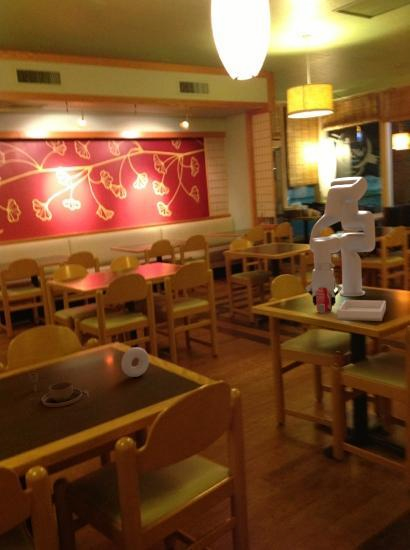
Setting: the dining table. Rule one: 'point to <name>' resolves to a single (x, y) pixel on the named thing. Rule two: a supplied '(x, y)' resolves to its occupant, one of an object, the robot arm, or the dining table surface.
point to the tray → (361, 310)
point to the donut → (141, 365)
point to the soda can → (323, 300)
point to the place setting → (58, 392)
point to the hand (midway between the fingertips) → (324, 304)
